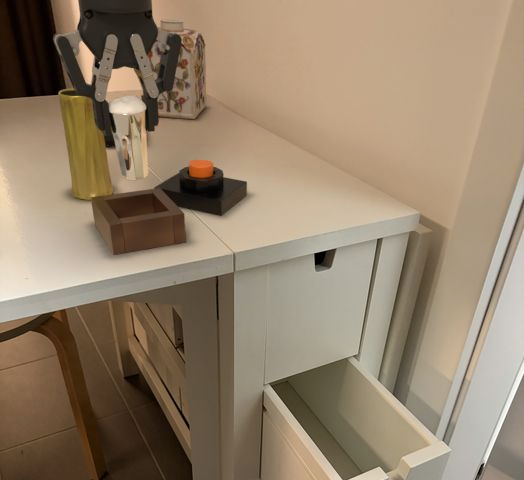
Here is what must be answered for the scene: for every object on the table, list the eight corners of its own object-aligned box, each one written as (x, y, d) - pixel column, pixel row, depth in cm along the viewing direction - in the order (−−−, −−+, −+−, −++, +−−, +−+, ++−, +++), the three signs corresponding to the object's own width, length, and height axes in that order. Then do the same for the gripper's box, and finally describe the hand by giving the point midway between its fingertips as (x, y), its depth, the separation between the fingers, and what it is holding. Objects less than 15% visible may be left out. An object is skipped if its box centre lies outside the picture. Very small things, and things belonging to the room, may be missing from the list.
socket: (113, 255, 68) (109, 225, 66) (94, 225, 75) (90, 197, 73) (185, 242, 72) (184, 213, 70) (161, 215, 79) (159, 187, 76)
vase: (96, 203, 81) (81, 99, 73) (63, 195, 83) (44, 93, 75) (121, 190, 86) (110, 90, 77) (89, 183, 88) (75, 85, 79)
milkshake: (115, 169, 71) (103, 84, 65) (157, 170, 70) (148, 85, 64) (105, 181, 67) (90, 92, 61) (149, 183, 67) (138, 94, 61)
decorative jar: (143, 116, 121) (135, 20, 110) (158, 103, 130) (152, 14, 119) (196, 120, 120) (194, 24, 109) (207, 107, 129) (206, 18, 118)
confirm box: (155, 201, 83) (153, 175, 80) (184, 182, 89) (183, 158, 87) (221, 215, 80) (221, 188, 77) (246, 195, 86) (247, 169, 84)
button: (184, 176, 82) (184, 164, 80) (196, 169, 84) (196, 157, 83) (206, 180, 80) (206, 168, 79) (217, 173, 83) (217, 161, 82)
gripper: (43, -46, 50) (73, 147, 60) (191, -41, 56) (196, 135, 66) (30, -49, 55) (60, 129, 66) (166, -44, 61) (174, 119, 71)
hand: (128, 131), depth 66 cm, fingers closed on milkshake, 4 cm apart
